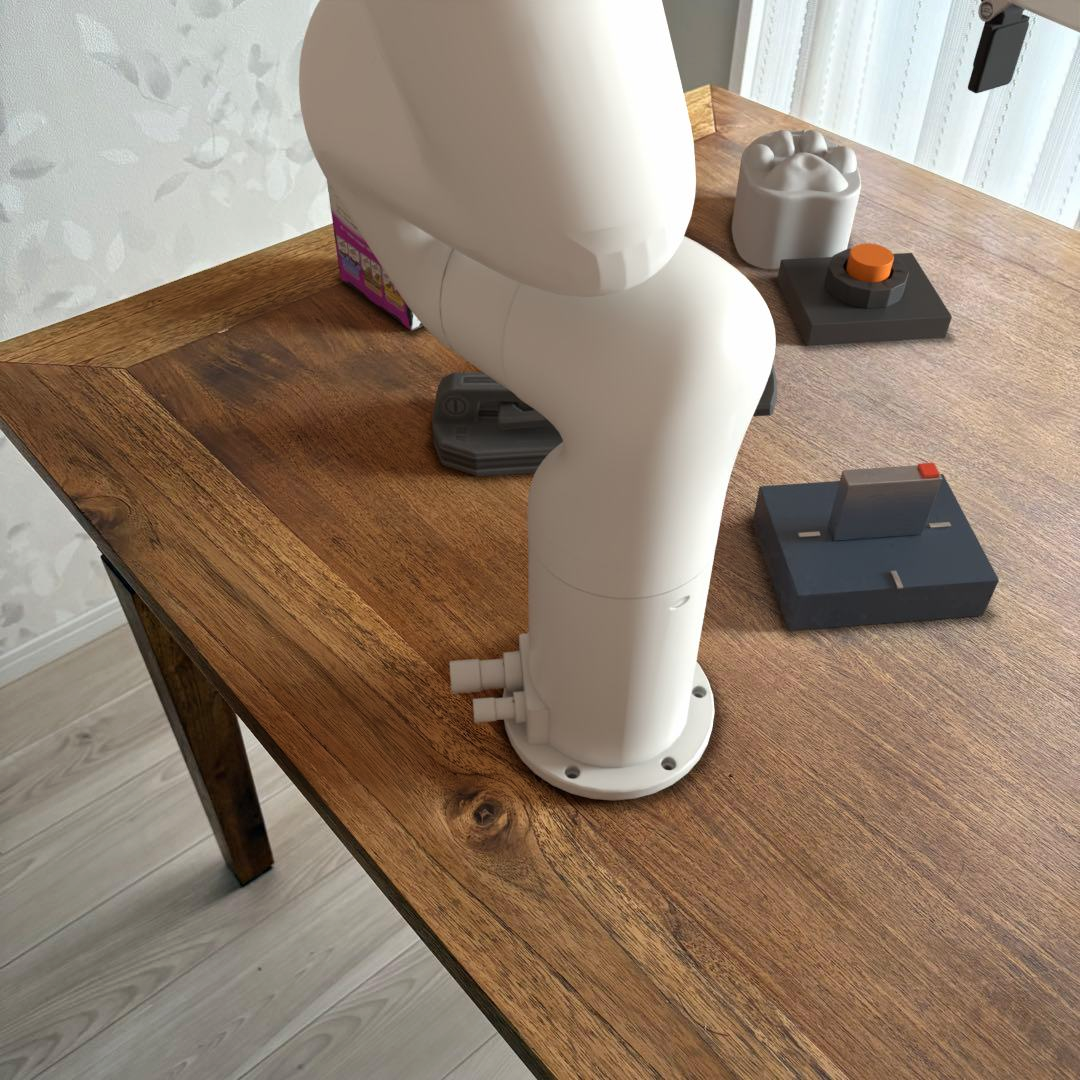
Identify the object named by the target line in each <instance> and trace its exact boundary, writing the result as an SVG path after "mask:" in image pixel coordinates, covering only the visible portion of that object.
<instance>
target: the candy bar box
mask: <svg viewBox="0 0 1080 1080" xmlns="http://www.w3.org/2000/svg"><path fill="white" fill-rule="evenodd" d="M326 185H327V192H328V199H329V206H330V207H329V208H330V214H331V220H332V227H333V235H334V236H333V237H334V243H335V250H336V256H337V262H338V264H337V265H338V270H339V276H340V277H339V278H340V279H341V280H342V281H343V282H344V283H345V284H347V285H349V286H350V288H353V289H354V290H355V291H356V292H357V293H359V294H361V295H362V296H364V298H366V299H368V300H369V301H370V302H372V303H373V304H374V305H376V306H377V307H379V308H380V309H381V310H383V311H384V312H386V313H387V314H388V315H390V316H391V317H393V319H395V320H396V321H398V322H399V323H401V325H403V326H404V327H406V328H407V329H408V330H409V331H414V330H417V329H420V328H421V327H424V326H423V324H422V323H421V322H420V321H419V320H418V319H417V317H416V316H415V315H414V313H413V312H412V311H411V310H410V308H409V307H408V305H407V304H406V303H405V301H404V300H403V298H402V297H401V295H400V294H399V292H398V291H397V289H396V288H395V286H394V285H393V283H392V281H391V280H390V278H389V277H388V275H387V274H386V272H385V271H384V269H383V268H382V266H381V265H380V263H379V261H378V260H377V258H376V257H375V255H374V254H373V252H372V251H371V249H370V247H369V246H368V244H367V243H366V241H365V240H364V238H363V236H362V235H361V233H360V232H359V230H358V229H357V227H356V225H355V224H354V222H353V221H352V219H351V218H350V216H349V214H348V213H347V211H346V210H345V208H344V206H343V205H342V203H341V202H340V200H339V199H338V197H337V195H336V194H335V192H334V190H333V189H332V187H331V185H330V184H329V182H328V180H327V179H326Z"/></svg>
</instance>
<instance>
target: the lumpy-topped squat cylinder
mask: <svg viewBox="0 0 1080 1080" xmlns="http://www.w3.org/2000/svg"><path fill="white" fill-rule="evenodd" d="M855 153H856V152H855V151H854V150H853V149H852V148H851V147H849V146H847V145H846V146H845V145H841V144H837V143H836V142H834V141H832V140H831V139H829V138H827V137H824V136H823V134H822V133H821V132H820V131H818V130H817V129H816V130H815V129H808V130H806V129H802V130H801V129H800V130H799V129H779V130H776V131H771V132H768V133H765V134H763V135H761V136H759V137H756V139H754V140H753V141H752V142H751V143H750V144H748V145H747V146H746V147H745V149H743V151H742V155H741V159H740V165H739V171H738V180H737V186H736V192H735V200H734V207H733V214H732V220H731V234H732V235H731V236H732V240H733V243H734V245H735V248H736V251H737V254H738V255H739V256H740V258H741V259H742V260H744V262H746V263H748V264H749V265H751V266H754V267H756V268H760V269H766V270H779V268H780V263H781V260H784V259H803V258H822V257H833V255H835V254H837V253H839V252H842V251H844V250H846V249H848V246H849V242H850V237H851V233H852V229H853V225H854V220H855V215H856V211H857V207H858V203H859V198H860V194H861V189H862V178H861V172H860V169H859V167H858V163H857V161H858V160H857V156H856V154H855Z"/></svg>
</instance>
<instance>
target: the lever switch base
mask: <svg viewBox="0 0 1080 1080" xmlns="http://www.w3.org/2000/svg"><path fill="white" fill-rule="evenodd" d="M940 475H941V477H942V481H941V484H940V486H939V489H938V492H937V495H936V497H935V500H934V503H933V506H932V509H931V511H930V514H929V517H928V520H927V523H926V525H925V528H924V531H923V534H920V535H906V536H892V537H878V538H865V539H851V540H837V541H834V540H833V538H832V536H831V533H830V531H829V528H828V523H829V519H830V516H831V512H832V508H833V504H834V501H835V497H836V493H837V490H838V486H839V482H840V480H832V481H819V482H816V481H815V482H803V483H789V484H787V483H785V484H774V485H773V484H772V485H761V486H759V487H758V491H757V492H758V493H757V497H756V500H755V501H756V502H755V506H754V512H753V517H752V520H751V521H752V522H751V523H752V526H753V529H754V531H755V534H756V537H757V540H758V543H759V547H760V549H761V552H762V555H763V559H764V562H765V564H766V567H767V571H768V574H769V577H770V579H771V582H772V585H773V588H774V592H775V594H776V597H777V600H778V604H779V606H780V609H781V612H782V614H783V615H782V616H783V618H784V622H785V623H786V627H787V630H788V632H792V631H804V630H818V629H819V630H820V629H830V628H831V629H832V628H842V627H844V628H845V627H855V626H856V627H857V626H868V625H870V626H871V625H880V624H881V625H882V624H894V623H895V624H896V623H906V622H908V623H909V622H918V621H919V622H920V621H932V620H943V619H944V620H945V619H956V618H970V617H972V618H973V617H982V616H985V613H986V611H987V608H988V606H989V604H990V601H991V599H992V597H993V594H994V592H995V590H996V588H997V586H998V584H999V581H1000V579H999V577H998V574H997V573H996V572H995V570H994V568H993V565H992V564H991V562H990V560H989V557H988V556H987V554H986V551H985V550H984V548H983V547H982V545H981V543H980V541H979V539H978V537H977V535H976V533H975V532H974V530H973V528H972V526H971V524H970V522H969V520H968V518H967V516H966V515H965V512H964V510H963V509H962V507H961V505H960V503H959V501H958V500H957V497H956V496H955V494H954V492H953V490H952V487H951V486H950V484H949V483H948V480H947V478H946V477H945V475H944V474H943V473H940Z"/></svg>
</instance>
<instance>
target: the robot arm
mask: <svg viewBox="0 0 1080 1080" xmlns="http://www.w3.org/2000/svg"><path fill="white" fill-rule="evenodd" d="M977 10H978V11H977V12H978V14H977V15H978V17H979V19H980V20H981V21H982V22H984V25H983V27H982V31H981V34H980V38H979V41H978V44H977V48H976V52H975V56H974V59H973V63H972V67H973V68H972V70H971V74H970V77H969V81H968V84H967V90H968V91H969V92H972V93H974V94H980V93H984V92H987V91H991V90H993V89H996V88H997V89H998V88H1000V87H1003V86H1006V85H1009V84H1010V83H1011V82H1012V80H1013V78H1014V74H1015V71H1016V69H1017V65H1018V62H1019V58H1020V55H1021V52H1022V49H1023V45H1024V42H1025V39H1026V36H1027V33H1028V30H1029V27H1030V22H1029V21H1030V18H1031V16H1028V15H1026V14H1024V11H1028V12H1030V13H1033V14H1034V15H1036V16H1039V17H1042V18H1044V19H1046V20H1048V21H1050V22H1053V23H1056V24H1058V25H1061V26H1063V27H1066V28H1068V29H1070V30H1071V31H1072V30H1073V31H1075V32H1077V33H1080V0H980V3H979V6H978V9H977ZM298 67H299V70H298V94H299V95H298V96H299V104H300V105H299V106H300V111H301V117H302V121H303V126H304V130H305V133H306V137H307V140H308V144H309V146H310V148H311V150H312V153H313V156H314V158H315V161H316V162H317V164H318V166H319V168H320V170H321V171H322V173H323V176H324V177H325V179H326V181H327V180H328V182H329V184H330V185H331V187H332V189H333V190H334V192H335V194H336V195H337V197H338V199H339V200H340V202H341V203H342V205H343V206H344V208H345V210H346V211H347V213H348V214H349V216H350V218H351V219H352V221H353V222H354V224H355V225H356V227H357V229H358V230H359V232H360V233H361V235H362V236H363V238H364V240H365V241H366V243H367V244H368V246H369V247H370V249H371V251H372V252H373V254H374V255H375V257H376V258H377V260H378V261H379V263H380V265H381V266H382V268H383V269H384V271H385V272H386V274H387V275H388V277H389V278H390V280H391V281H392V283H393V285H394V286H395V288H396V289H397V291H398V292H399V294H400V295H401V297H402V298H403V300H404V301H405V303H406V304H407V305H408V307H409V308H410V310H411V311H412V312H413V313H414V315H415V316H416V317H417V319H418V320H419V321H420V322H421V323H422V324H423V326H422V327H424V328H425V329H426V331H428V332H429V333H430V334H431V335H432V336H433V337H434V338H435V339H436V340H437V341H438V342H440V343H441V344H443V346H445V347H446V348H447V349H449V350H450V351H451V352H452V353H454V354H456V356H459V357H460V358H461V359H462V360H464V361H466V362H467V363H468V364H470V365H471V366H473V367H474V368H475V369H477V370H479V371H480V372H483V373H485V374H486V375H488V376H489V377H491V378H492V379H494V380H495V381H497V382H498V383H500V384H501V385H503V386H504V387H505V388H507V389H508V390H510V391H511V392H513V393H514V394H515V395H516V396H517V397H518V398H519V399H521V400H522V401H523V402H525V403H526V404H528V405H529V406H531V407H532V408H533V409H535V410H536V411H538V412H539V413H540V414H542V415H543V416H544V417H545V418H546V419H547V420H549V421H550V422H551V423H552V424H553V425H554V427H555V428H556V429H557V430H558V432H559V433H560V435H561V437H562V439H563V442H562V443H561V444H559V445H558V446H557V447H556V448H555V449H553V450H552V451H551V452H550V453H549V454H548V455H547V456H546V457H545V459H544V460H543V461H542V463H541V464H540V465H539V467H538V468H537V470H536V472H535V473H534V474H533V477H532V481H531V483H530V486H529V491H528V496H527V508H526V513H527V514H526V515H527V516H526V518H527V519H526V520H527V521H526V522H527V523H526V531H527V542H528V543H527V544H528V545H527V546H528V547H527V555H528V556H527V560H528V562H527V566H528V568H527V569H528V570H527V571H528V572H527V573H528V576H527V577H528V581H527V582H528V584H527V585H528V588H527V589H528V593H527V594H528V632H526V633H520V634H519V635H518V650H515V651H506V652H504V651H503V652H502V658H494V659H480V658H471V659H470V658H469V659H457V660H449V676H450V677H449V678H450V689H451V691H450V692H451V694H452V695H454V694H465V693H466V694H467V693H479V692H482V691H485V690H497V689H503V693H502V697H494V696H492V697H478V698H472V708H473V721H474V724H479V723H491V722H496V721H501V720H503V723H504V729H505V732H506V734H507V737H508V740H509V742H510V745H511V746H512V748H513V750H514V751H515V753H516V754H517V756H518V757H519V758H520V760H521V762H523V763H524V764H525V765H526V767H527V768H529V769H530V770H531V771H532V772H533V773H534V775H536V776H538V777H539V778H541V779H542V780H544V781H545V782H547V783H548V784H549V785H551V786H553V787H555V788H558V789H560V790H562V791H565V792H566V793H569V794H572V795H575V796H579V797H584V798H588V799H592V800H601V801H602V800H603V801H622V800H623V801H624V800H633V799H638V798H641V797H642V798H643V797H646V796H649V795H653V794H656V793H658V792H660V791H662V790H664V789H666V788H669V787H671V786H673V785H674V784H675V783H677V782H678V781H680V780H681V779H682V778H684V777H685V776H686V775H687V774H689V772H691V770H692V769H694V767H695V766H696V764H697V763H698V762H699V761H700V760H701V758H702V756H703V755H704V753H705V751H706V749H707V747H708V745H709V741H710V738H711V734H712V731H713V727H714V726H713V725H714V718H715V703H714V701H715V700H714V694H713V691H712V688H711V684H710V681H709V679H708V677H707V675H706V674H705V672H704V670H703V668H702V667H701V665H700V664H699V662H698V661H697V660H698V654H699V648H700V643H701V642H700V641H701V635H702V632H703V631H702V629H703V625H704V618H705V612H706V606H707V601H708V596H709V595H708V594H709V590H710V583H711V578H712V577H711V576H712V571H713V566H714V559H715V553H716V548H717V542H718V538H719V532H720V526H721V521H722V515H723V510H724V505H725V501H726V495H727V491H728V486H729V484H730V483H729V482H730V479H731V476H732V472H733V469H734V465H735V463H736V460H737V457H738V454H739V450H740V448H741V446H742V443H743V440H744V438H745V435H746V432H747V431H748V428H749V426H750V423H751V421H752V419H753V418H754V416H753V414H754V412H755V410H756V407H757V405H758V403H759V400H760V398H761V396H762V394H763V391H764V389H765V386H766V383H767V381H768V378H769V375H770V372H771V368H772V364H773V365H774V359H775V355H776V345H777V343H776V342H777V341H776V337H777V335H776V327H775V323H774V319H773V317H772V314H771V311H770V309H769V307H768V304H767V303H766V301H765V299H764V297H763V296H762V295H761V293H760V292H759V291H758V289H757V288H756V286H754V284H753V283H752V282H751V280H749V279H748V278H747V277H746V276H745V275H744V274H743V273H742V272H741V271H740V270H738V269H737V268H736V267H735V266H734V265H732V264H730V262H728V261H727V260H726V259H724V258H722V257H721V256H720V255H718V254H717V253H715V252H714V251H712V250H710V249H709V248H707V247H705V246H703V245H702V244H701V243H699V242H697V241H695V240H692V239H691V238H689V237H687V236H685V235H686V232H687V229H688V226H689V223H690V221H691V218H692V214H693V209H694V204H695V200H696V190H697V189H696V187H697V173H696V158H695V157H696V156H695V141H694V137H693V130H692V125H691V120H690V116H689V111H688V106H687V102H686V97H685V93H684V91H683V90H684V89H683V85H682V81H681V77H680V76H681V75H680V72H679V67H678V64H677V60H676V56H675V51H674V46H673V43H672V39H671V34H670V29H669V26H668V21H667V17H666V13H665V9H664V4H663V0H319V1H318V3H317V4H316V6H315V7H314V10H313V12H312V14H311V17H310V19H309V22H308V25H307V28H306V31H305V34H304V38H303V42H302V46H301V52H300V59H299V66H298Z"/></svg>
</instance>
